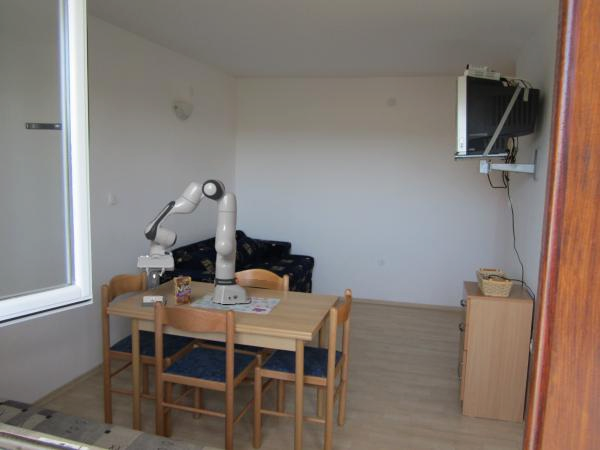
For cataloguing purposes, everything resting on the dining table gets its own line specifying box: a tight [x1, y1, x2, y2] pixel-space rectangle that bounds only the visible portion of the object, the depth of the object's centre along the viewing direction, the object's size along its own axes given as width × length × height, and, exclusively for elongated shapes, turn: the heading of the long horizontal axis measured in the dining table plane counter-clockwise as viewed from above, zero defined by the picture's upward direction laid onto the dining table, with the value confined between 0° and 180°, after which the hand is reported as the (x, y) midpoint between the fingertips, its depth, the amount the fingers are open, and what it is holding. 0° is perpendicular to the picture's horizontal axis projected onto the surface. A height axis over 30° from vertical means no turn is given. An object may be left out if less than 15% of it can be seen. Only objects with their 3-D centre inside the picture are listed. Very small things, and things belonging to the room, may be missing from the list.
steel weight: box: [149, 270, 160, 288], centre depth 257 cm, size 5×5×8 cm
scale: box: [141, 295, 167, 308], centre depth 257 cm, size 12×12×6 cm
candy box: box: [172, 275, 192, 306], centre depth 259 cm, size 9×4×15 cm, turn 123°
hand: (154, 275), depth 256 cm, fingers closed on steel weight, 5 cm apart
